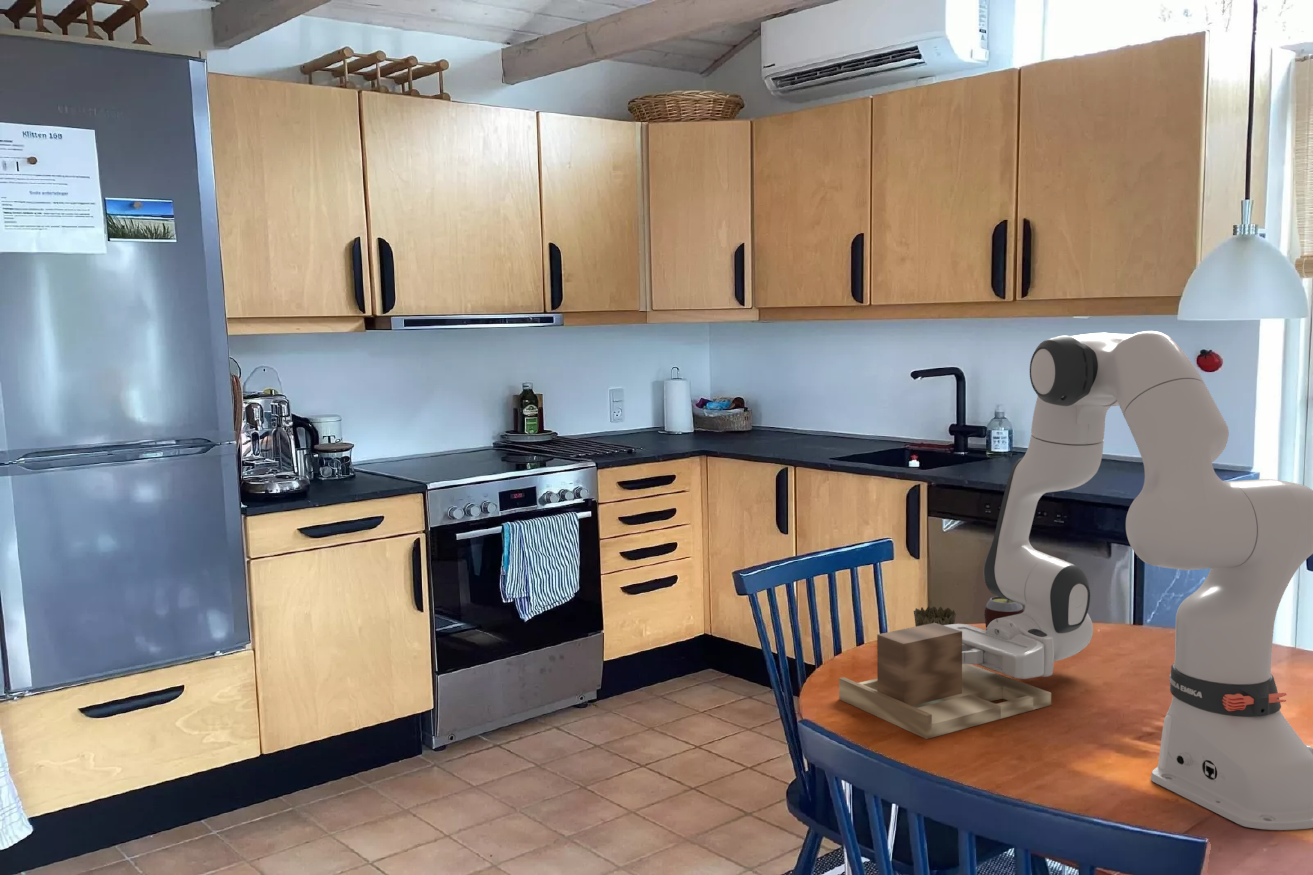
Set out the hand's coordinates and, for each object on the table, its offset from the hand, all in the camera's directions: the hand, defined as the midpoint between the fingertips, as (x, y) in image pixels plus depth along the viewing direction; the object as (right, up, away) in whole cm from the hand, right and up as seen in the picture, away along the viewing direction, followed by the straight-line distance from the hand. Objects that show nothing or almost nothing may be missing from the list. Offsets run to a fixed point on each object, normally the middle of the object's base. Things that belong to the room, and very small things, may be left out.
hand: (949, 657), depth 169 cm
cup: (+4, -5, +25) cm, 26 cm away
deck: (-1, -7, 0) cm, 7 cm away
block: (-5, -5, -2) cm, 8 cm away
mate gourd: (+19, -4, +31) cm, 37 cm away
